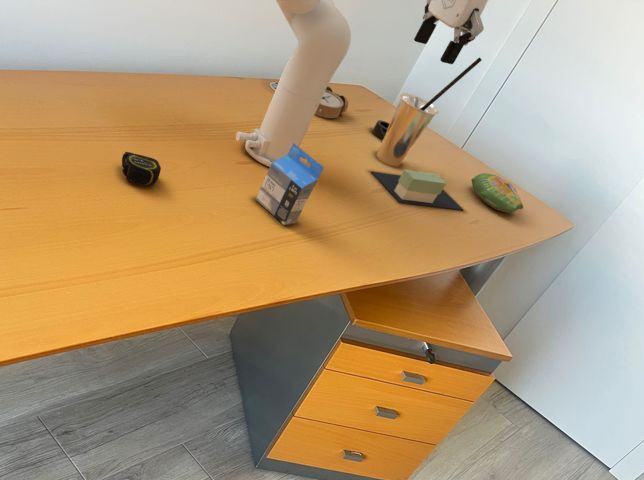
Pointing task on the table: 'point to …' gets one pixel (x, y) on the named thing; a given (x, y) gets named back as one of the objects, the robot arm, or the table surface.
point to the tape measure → (140, 168)
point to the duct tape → (380, 129)
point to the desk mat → (440, 201)
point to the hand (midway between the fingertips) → (432, 52)
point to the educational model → (497, 192)
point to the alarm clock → (331, 104)
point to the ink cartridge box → (289, 185)
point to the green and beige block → (419, 186)
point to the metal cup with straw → (410, 123)
